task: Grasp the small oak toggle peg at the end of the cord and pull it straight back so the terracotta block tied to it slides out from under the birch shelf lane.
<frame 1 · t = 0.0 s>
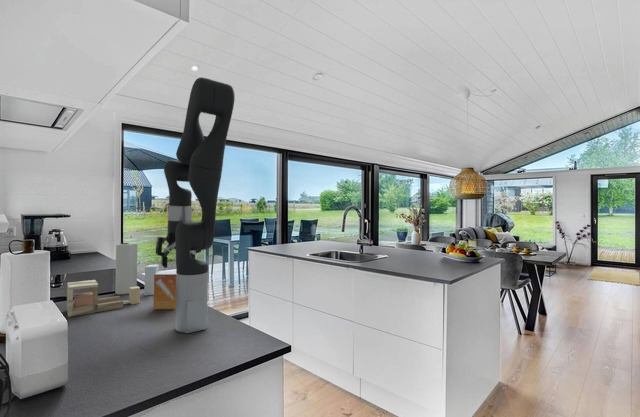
hand: (178, 266, 111), 17 cm above the kitchen counter, tool pointing down, fingers open, 8 cm apart
small box: (167, 307, 121), on the kitchen counter
skincare box: (151, 293, 139), on the kitchen counter
tall grey box: (124, 293, 138), on the kitchen counter
tethered block: (83, 310, 115), on the kitchen counter
shelf lane: (97, 308, 117), on the kitchen counter
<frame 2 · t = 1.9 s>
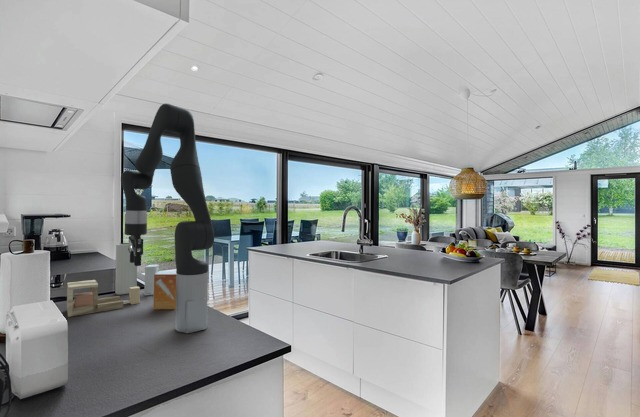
hand: (135, 264, 125), 15 cm above the kitchen counter, tool pointing down, fingers open, 8 cm apart
nothing on the kitchen counter moved.
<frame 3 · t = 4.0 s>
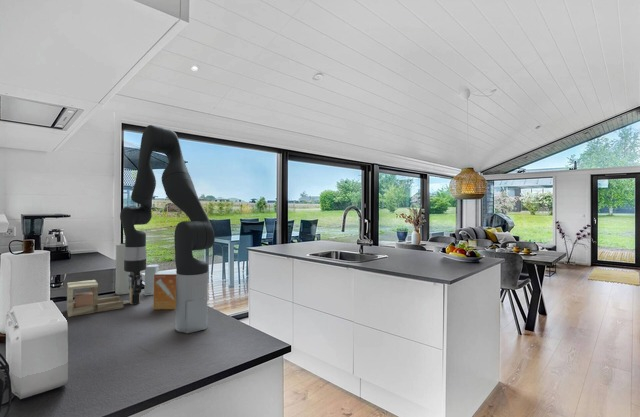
hand: (134, 302, 125), 0 cm above the kitchen counter, tool pointing down, fingers closed on tethered block, 3 cm apart
tethered block: (83, 310, 115), on the kitchen counter, touching gripper
everything else where it was.
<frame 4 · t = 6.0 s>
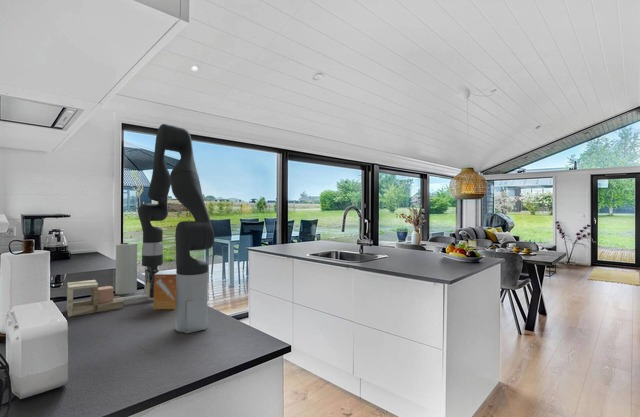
hand: (151, 296, 129), 2 cm above the kitchen counter, tool pointing down, fingers closed on tethered block, 3 cm apart
tethered block: (104, 304, 118), point 1 cm above the kitchen counter, touching gripper
everything else where it was.
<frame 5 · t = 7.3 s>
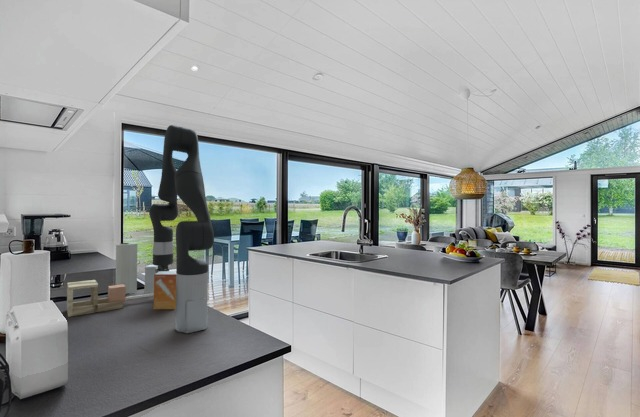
hand: (162, 294, 132), 2 cm above the kitchen counter, tool pointing down, fingers closed on tethered block, 3 cm apart
tethered block: (116, 302, 121), point 1 cm above the kitchen counter, touching gripper
everything else where it was.
when the fingers open (0 cm above the kitchen counter, at t = 8.1 s): tethered block stays where it is, on the kitchen counter.
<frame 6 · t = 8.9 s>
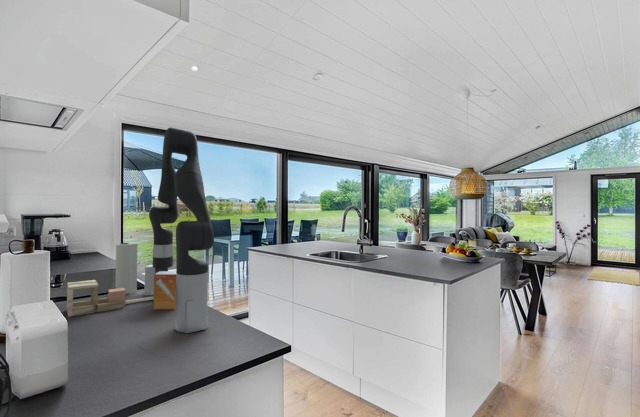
hand: (162, 295, 132), 1 cm above the kitchen counter, tool pointing down, fingers open, 8 cm apart
tethered block: (116, 305, 121), on the kitchen counter
everything else where it was.
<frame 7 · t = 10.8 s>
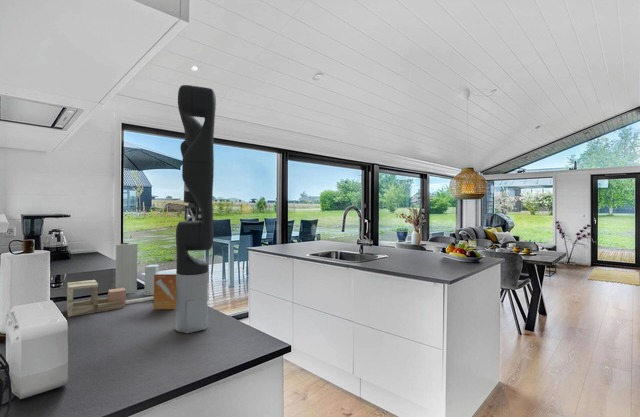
hand: (193, 231, 129), 28 cm above the kitchen counter, tool pointing down, fingers open, 8 cm apart
nothing on the kitchen counter moved.
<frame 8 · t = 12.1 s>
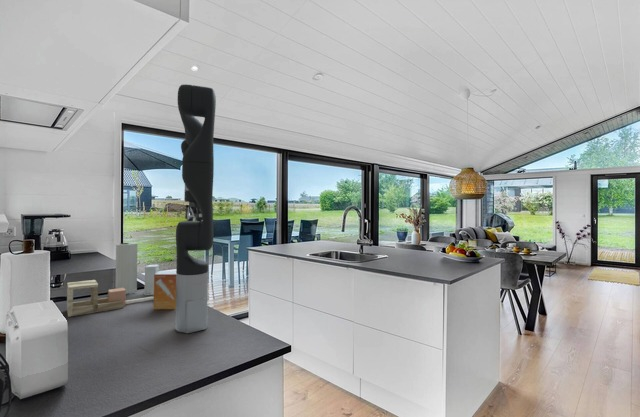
hand: (194, 230, 129), 28 cm above the kitchen counter, tool pointing down, fingers open, 8 cm apart
nothing on the kitchen counter moved.
at the end: tethered block inside the target area (1.7 cm from its centre), on the kitchen counter; the gripper is holding nothing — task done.
